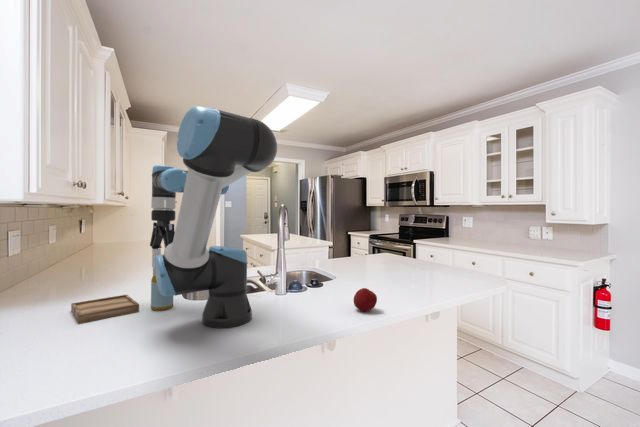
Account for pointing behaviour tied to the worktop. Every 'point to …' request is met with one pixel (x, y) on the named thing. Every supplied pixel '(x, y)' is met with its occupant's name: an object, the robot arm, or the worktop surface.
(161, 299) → the bottle
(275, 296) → the worktop surface
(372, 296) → the apple
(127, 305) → the tray
